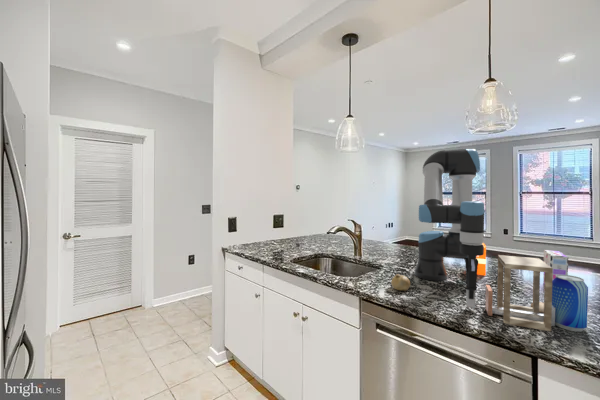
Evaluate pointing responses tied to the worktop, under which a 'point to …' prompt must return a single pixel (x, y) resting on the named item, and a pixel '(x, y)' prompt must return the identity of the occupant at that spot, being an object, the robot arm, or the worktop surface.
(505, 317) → the wooden open frame
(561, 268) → the candy box
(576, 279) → the beer can
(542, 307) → the coaster
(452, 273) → the worktop surface
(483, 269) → the orange juice
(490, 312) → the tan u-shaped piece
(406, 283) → the onion
